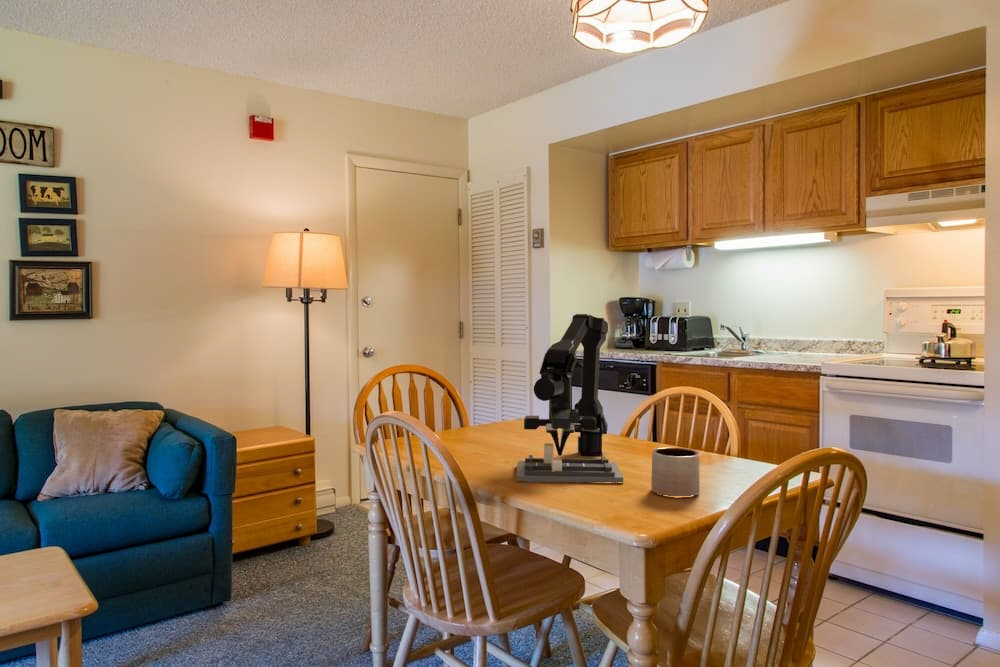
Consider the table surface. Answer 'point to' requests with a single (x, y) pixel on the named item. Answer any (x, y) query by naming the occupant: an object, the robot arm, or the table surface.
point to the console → (568, 470)
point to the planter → (675, 471)
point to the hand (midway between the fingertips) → (559, 455)
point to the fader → (548, 452)
